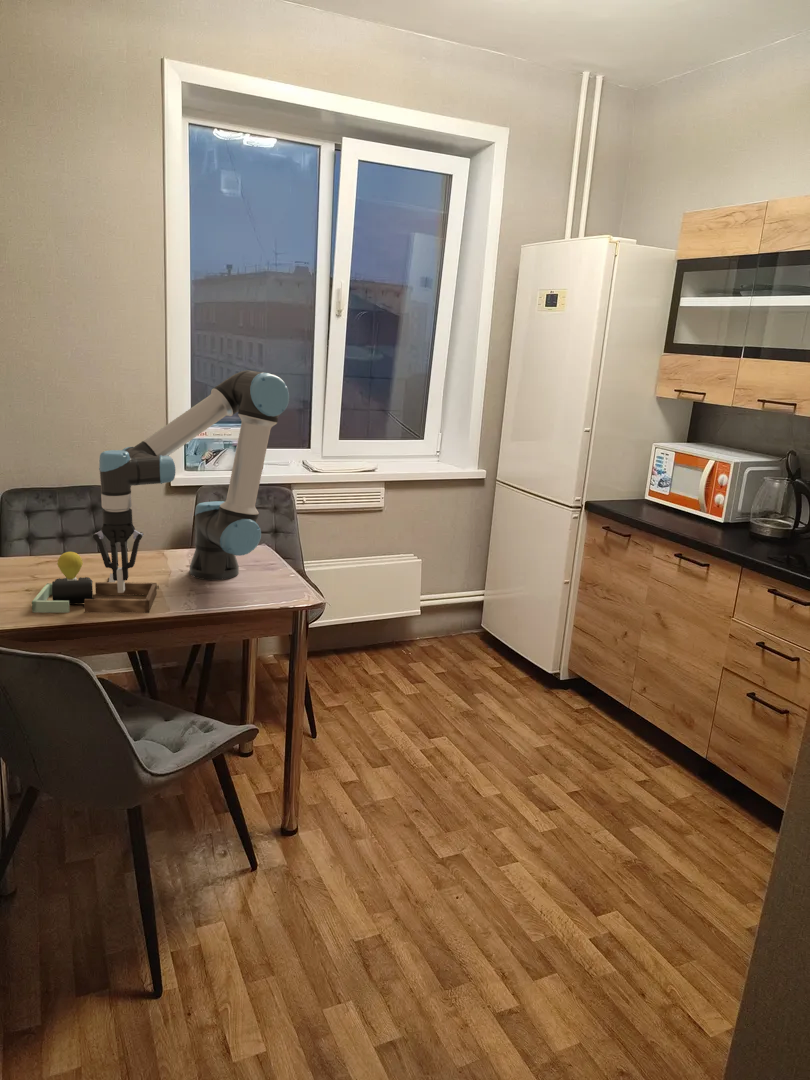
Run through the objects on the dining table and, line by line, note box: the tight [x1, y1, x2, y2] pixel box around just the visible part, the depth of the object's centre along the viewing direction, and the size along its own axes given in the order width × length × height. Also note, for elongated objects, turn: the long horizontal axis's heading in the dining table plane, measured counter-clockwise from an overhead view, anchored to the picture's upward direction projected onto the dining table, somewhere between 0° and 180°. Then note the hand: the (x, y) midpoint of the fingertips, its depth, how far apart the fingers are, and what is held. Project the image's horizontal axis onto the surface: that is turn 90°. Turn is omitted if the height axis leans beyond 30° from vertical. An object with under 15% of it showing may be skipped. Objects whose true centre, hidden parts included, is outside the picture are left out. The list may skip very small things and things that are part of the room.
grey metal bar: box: [108, 573, 116, 582], centre depth 227 cm, size 10×2×2 cm, turn 18°
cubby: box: [83, 581, 158, 614], centre depth 211 cm, size 16×15×4 cm
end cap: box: [51, 576, 94, 605], centre depth 209 cm, size 10×7×7 cm
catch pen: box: [31, 582, 71, 614], centre depth 208 cm, size 9×15×3 cm, turn 10°
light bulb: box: [57, 551, 84, 581], centre depth 222 cm, size 7×7×10 cm
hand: (121, 591), depth 211 cm, fingers closed
